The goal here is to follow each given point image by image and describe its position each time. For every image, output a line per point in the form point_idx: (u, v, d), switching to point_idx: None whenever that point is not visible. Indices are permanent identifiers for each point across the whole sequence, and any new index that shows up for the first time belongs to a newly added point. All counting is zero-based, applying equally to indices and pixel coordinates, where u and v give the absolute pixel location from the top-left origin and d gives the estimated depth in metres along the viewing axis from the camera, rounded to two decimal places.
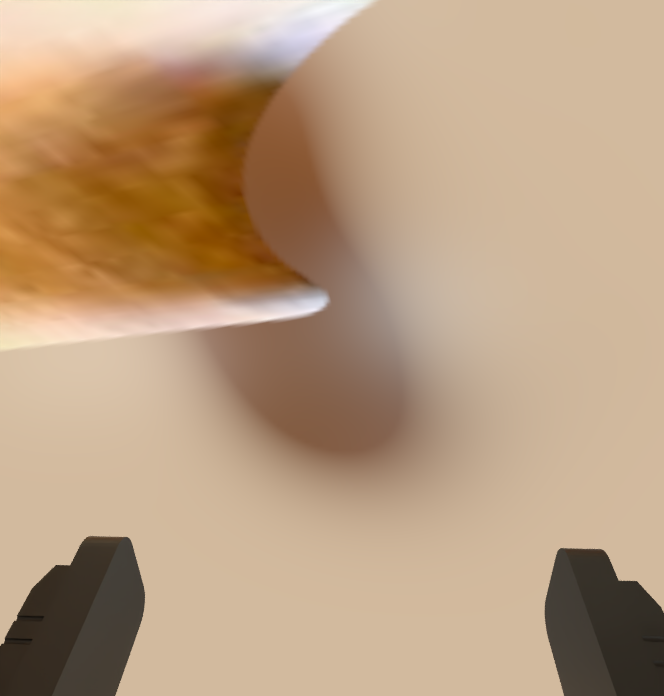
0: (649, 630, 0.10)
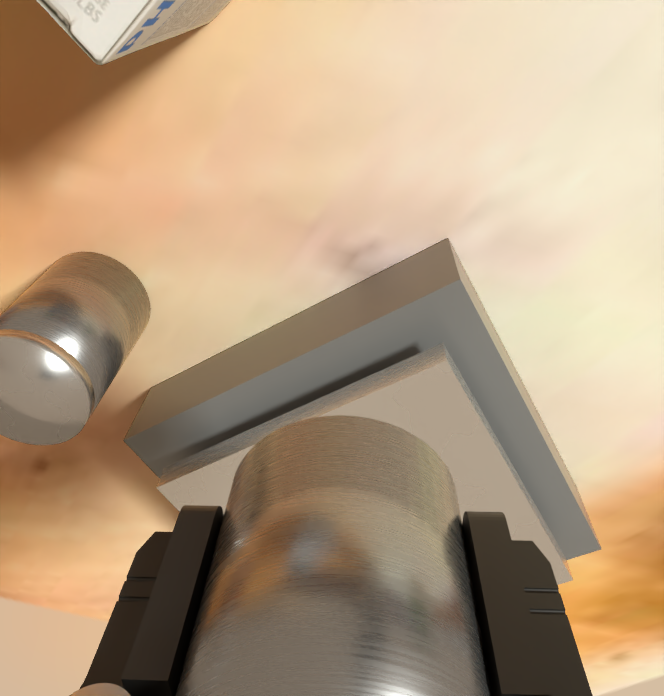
0: (536, 583, 0.10)
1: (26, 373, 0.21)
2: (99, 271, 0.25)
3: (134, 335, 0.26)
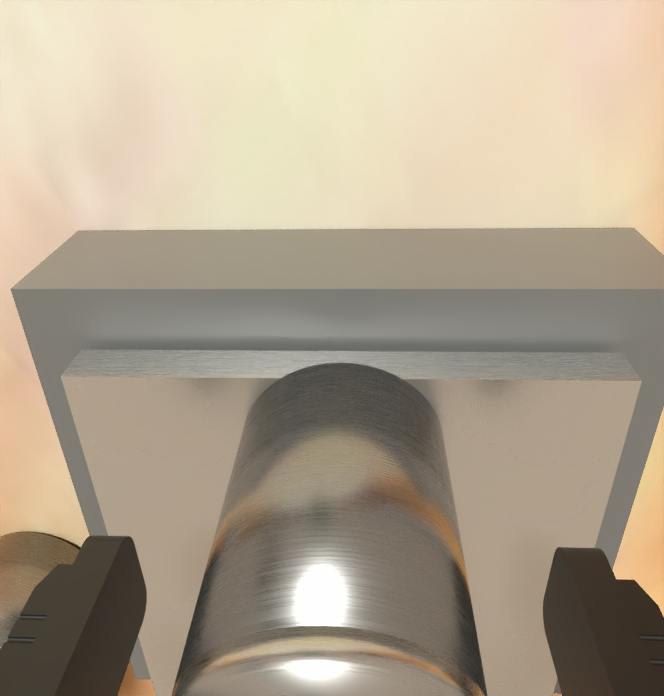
0: (646, 628, 0.10)
1: None
2: None
3: None
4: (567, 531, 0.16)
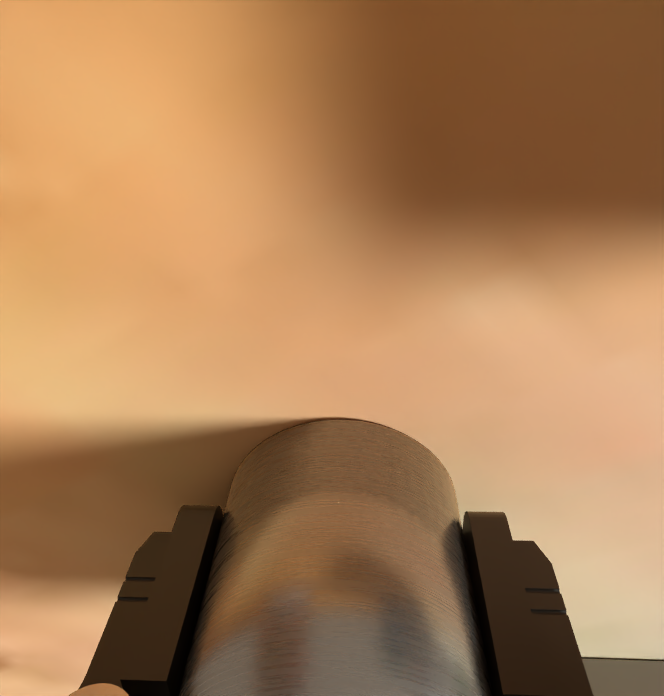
0: (537, 583, 0.10)
1: None
2: (413, 484, 0.11)
3: None
4: None
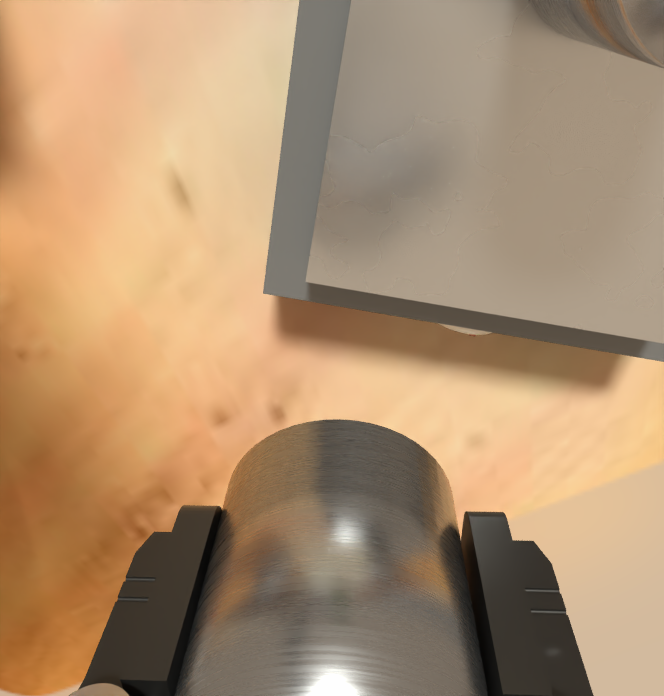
0: (537, 583, 0.10)
1: None
2: (408, 483, 0.11)
3: None
4: None
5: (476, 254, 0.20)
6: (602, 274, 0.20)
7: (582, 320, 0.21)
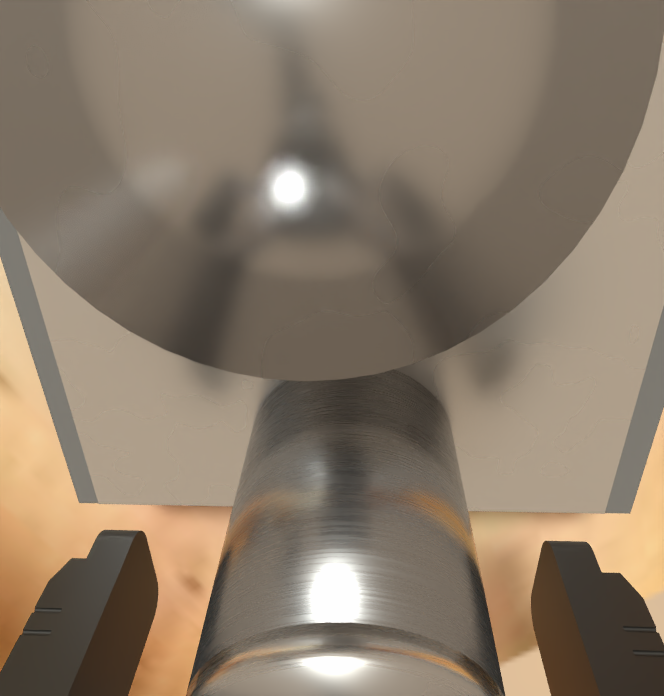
0: (631, 621, 0.10)
1: None
2: (415, 412, 0.12)
3: None
4: (653, 184, 0.11)
5: None
6: (481, 446, 0.14)
7: (475, 501, 0.15)
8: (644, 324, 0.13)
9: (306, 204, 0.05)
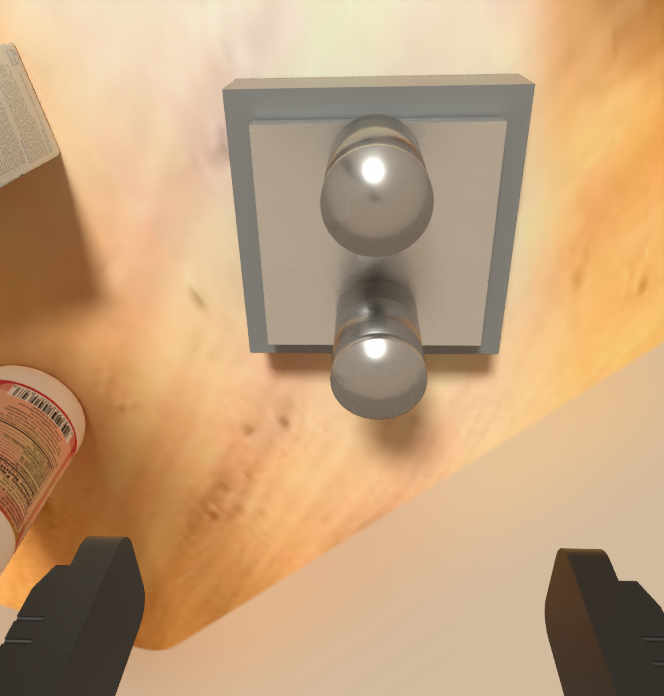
0: (649, 630, 0.10)
1: (390, 365, 0.30)
2: (401, 294, 0.34)
3: None
4: (481, 212, 0.33)
5: None
6: (428, 314, 0.36)
7: (427, 340, 0.37)
8: (485, 262, 0.34)
9: (378, 223, 0.26)
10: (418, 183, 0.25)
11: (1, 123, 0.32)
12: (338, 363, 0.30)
